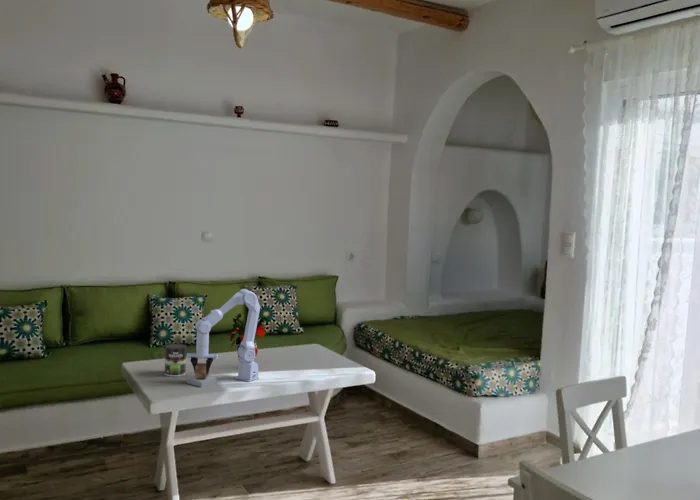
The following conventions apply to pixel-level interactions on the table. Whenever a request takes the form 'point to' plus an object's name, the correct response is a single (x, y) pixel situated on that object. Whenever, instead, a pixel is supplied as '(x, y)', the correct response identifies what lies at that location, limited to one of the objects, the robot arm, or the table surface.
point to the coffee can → (175, 360)
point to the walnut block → (200, 371)
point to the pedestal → (201, 381)
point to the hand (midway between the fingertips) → (201, 373)
